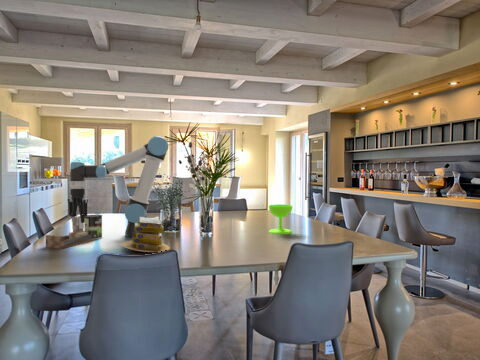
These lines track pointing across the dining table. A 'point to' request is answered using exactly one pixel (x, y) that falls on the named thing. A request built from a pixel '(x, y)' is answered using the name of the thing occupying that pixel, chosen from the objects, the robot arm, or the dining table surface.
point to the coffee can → (93, 226)
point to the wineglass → (280, 217)
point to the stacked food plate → (147, 236)
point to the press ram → (77, 229)
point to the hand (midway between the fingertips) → (78, 228)
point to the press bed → (66, 241)
